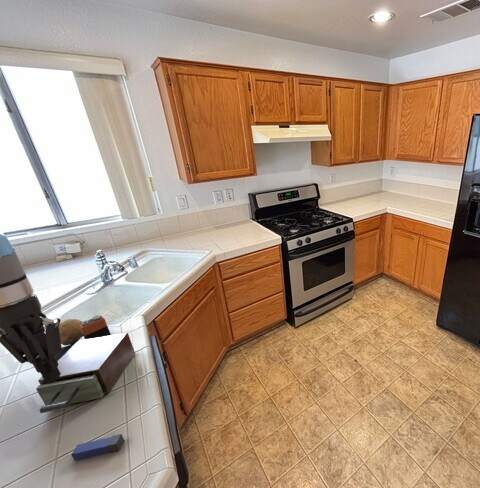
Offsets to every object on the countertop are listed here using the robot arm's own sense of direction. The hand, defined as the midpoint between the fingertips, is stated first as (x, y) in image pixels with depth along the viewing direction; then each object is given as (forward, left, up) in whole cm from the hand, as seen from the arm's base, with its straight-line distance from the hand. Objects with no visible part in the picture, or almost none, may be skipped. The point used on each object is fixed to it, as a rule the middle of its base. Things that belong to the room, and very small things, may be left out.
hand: (53, 379), depth 67 cm
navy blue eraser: (+14, -14, -12) cm, 23 cm away
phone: (-16, +24, -12) cm, 32 cm away
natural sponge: (-19, +34, -12) cm, 41 cm away
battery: (-10, +32, -12) cm, 36 cm away
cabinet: (0, +12, -12) cm, 17 cm away
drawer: (0, +7, -11) cm, 13 cm away
